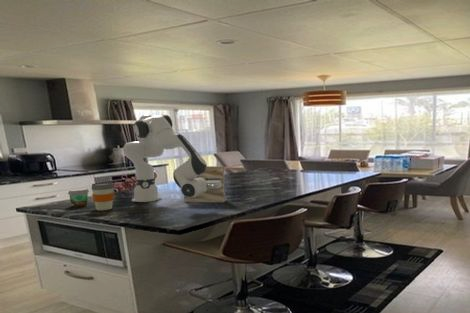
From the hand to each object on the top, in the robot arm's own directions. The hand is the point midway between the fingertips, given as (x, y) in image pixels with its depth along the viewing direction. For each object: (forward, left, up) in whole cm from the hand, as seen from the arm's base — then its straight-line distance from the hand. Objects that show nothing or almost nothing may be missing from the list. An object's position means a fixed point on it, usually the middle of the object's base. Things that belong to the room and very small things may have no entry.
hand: (207, 182), depth 207 cm
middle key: (-17, -1, -5) cm, 17 cm away
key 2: (-13, +6, -5) cm, 15 cm away
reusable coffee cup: (-19, -60, -15) cm, 65 cm away
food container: (-34, -76, -15) cm, 85 cm away
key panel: (-19, 0, -14) cm, 24 cm away
